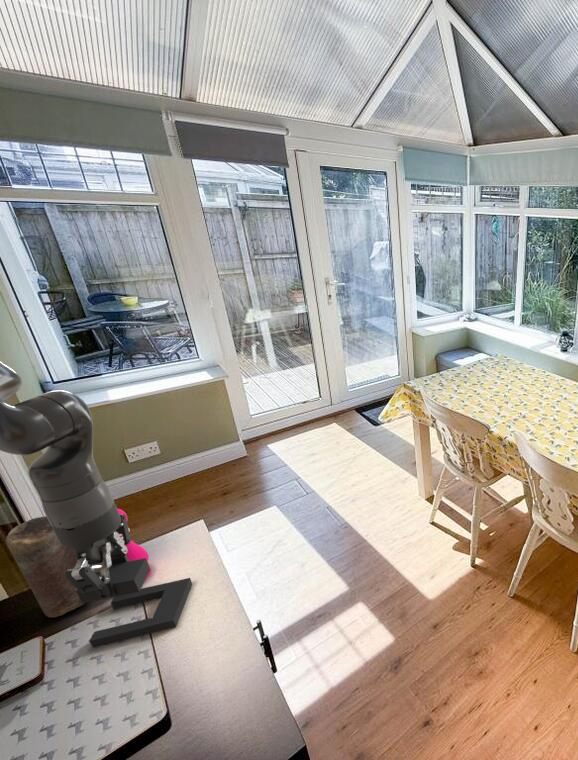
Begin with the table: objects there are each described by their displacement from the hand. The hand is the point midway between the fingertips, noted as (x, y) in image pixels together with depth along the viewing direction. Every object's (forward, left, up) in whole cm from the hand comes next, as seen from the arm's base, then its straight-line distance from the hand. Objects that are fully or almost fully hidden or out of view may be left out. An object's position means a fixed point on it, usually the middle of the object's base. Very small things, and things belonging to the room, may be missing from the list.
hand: (116, 583), depth 74 cm
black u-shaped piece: (-1, +5, -14) cm, 15 cm away
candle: (-16, +12, -14) cm, 25 cm away
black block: (0, 0, -1) cm, 1 cm away
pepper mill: (-7, +16, -14) cm, 22 cm away
